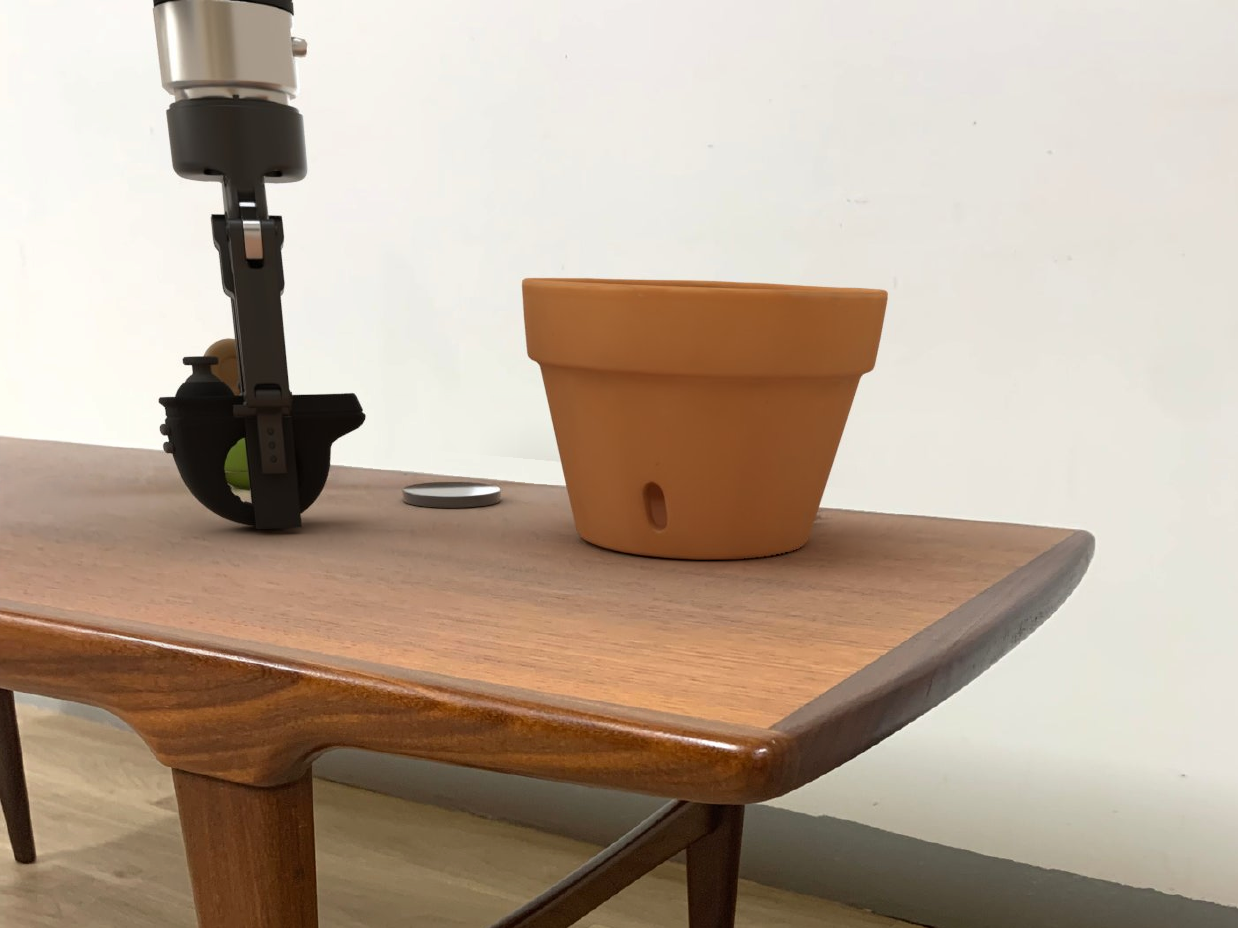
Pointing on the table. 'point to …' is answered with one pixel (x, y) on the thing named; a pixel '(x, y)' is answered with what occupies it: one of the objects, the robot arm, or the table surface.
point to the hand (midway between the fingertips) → (276, 519)
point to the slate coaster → (451, 494)
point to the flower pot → (698, 406)
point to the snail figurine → (230, 376)
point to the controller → (211, 431)
